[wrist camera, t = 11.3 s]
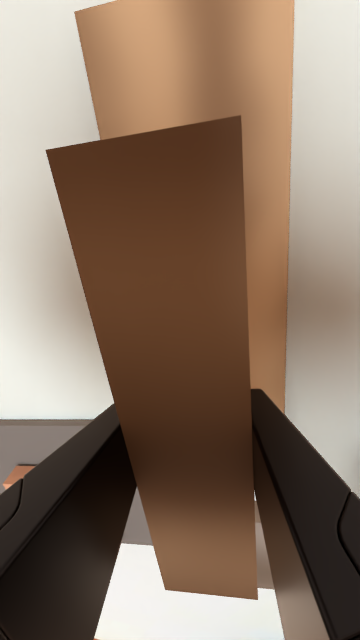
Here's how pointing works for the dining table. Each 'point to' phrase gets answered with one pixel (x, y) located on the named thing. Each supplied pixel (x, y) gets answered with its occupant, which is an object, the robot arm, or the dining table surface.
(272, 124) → the board
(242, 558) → the brown wooden plank
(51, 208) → the dining table surface
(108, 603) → the dining table surface
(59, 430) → the mat
